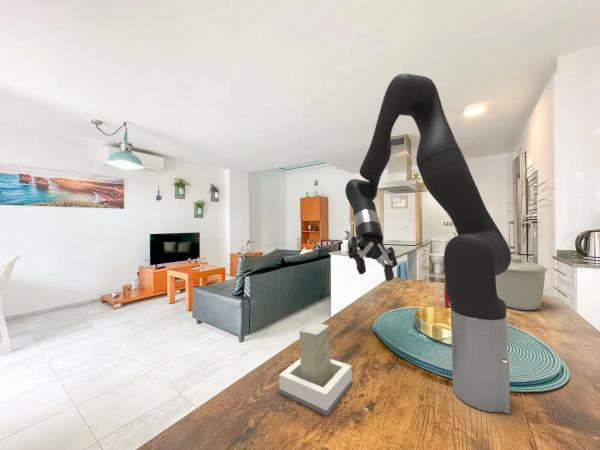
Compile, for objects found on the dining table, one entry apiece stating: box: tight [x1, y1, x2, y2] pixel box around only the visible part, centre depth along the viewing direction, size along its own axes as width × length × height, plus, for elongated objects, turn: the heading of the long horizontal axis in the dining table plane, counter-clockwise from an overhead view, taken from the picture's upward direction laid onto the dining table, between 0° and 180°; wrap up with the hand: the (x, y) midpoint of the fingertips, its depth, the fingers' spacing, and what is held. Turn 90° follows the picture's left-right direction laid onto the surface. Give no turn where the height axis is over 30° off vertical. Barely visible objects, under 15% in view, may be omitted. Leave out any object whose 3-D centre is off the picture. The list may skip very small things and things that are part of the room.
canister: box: [496, 254, 549, 311], centre depth 104 cm, size 18×18×21 cm
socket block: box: [278, 358, 353, 417], centre depth 55 cm, size 12×12×4 cm
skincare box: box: [299, 321, 331, 387], centre depth 55 cm, size 6×4×12 cm
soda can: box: [443, 283, 451, 309], centre depth 100 cm, size 7×7×12 cm
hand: (376, 276), depth 66 cm, fingers open, 8 cm apart
